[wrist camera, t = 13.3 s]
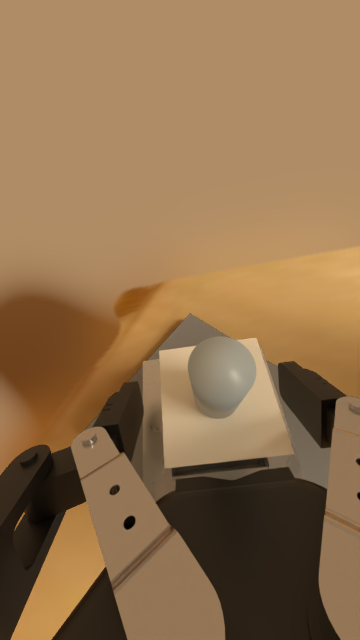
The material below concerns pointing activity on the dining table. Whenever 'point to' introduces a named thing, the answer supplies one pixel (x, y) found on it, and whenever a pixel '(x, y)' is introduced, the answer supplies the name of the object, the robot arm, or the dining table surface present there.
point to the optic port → (164, 479)
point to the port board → (306, 447)
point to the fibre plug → (219, 404)
